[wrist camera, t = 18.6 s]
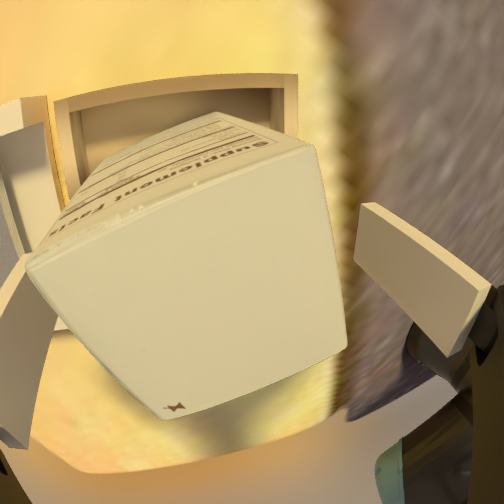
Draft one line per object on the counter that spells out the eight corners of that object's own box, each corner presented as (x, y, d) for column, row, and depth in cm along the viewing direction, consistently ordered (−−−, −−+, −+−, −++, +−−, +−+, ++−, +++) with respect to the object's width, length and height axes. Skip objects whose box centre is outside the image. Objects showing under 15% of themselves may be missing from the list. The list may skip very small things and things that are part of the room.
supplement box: (252, 213, 21) (352, 353, 10) (149, 255, 20) (158, 429, 9) (217, 106, 16) (325, 138, 6) (100, 155, 16) (12, 272, 5)
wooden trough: (276, 252, 24) (292, 274, 21) (107, 280, 21) (102, 307, 18) (277, 76, 17) (298, 74, 14) (70, 99, 14) (53, 101, 12)
